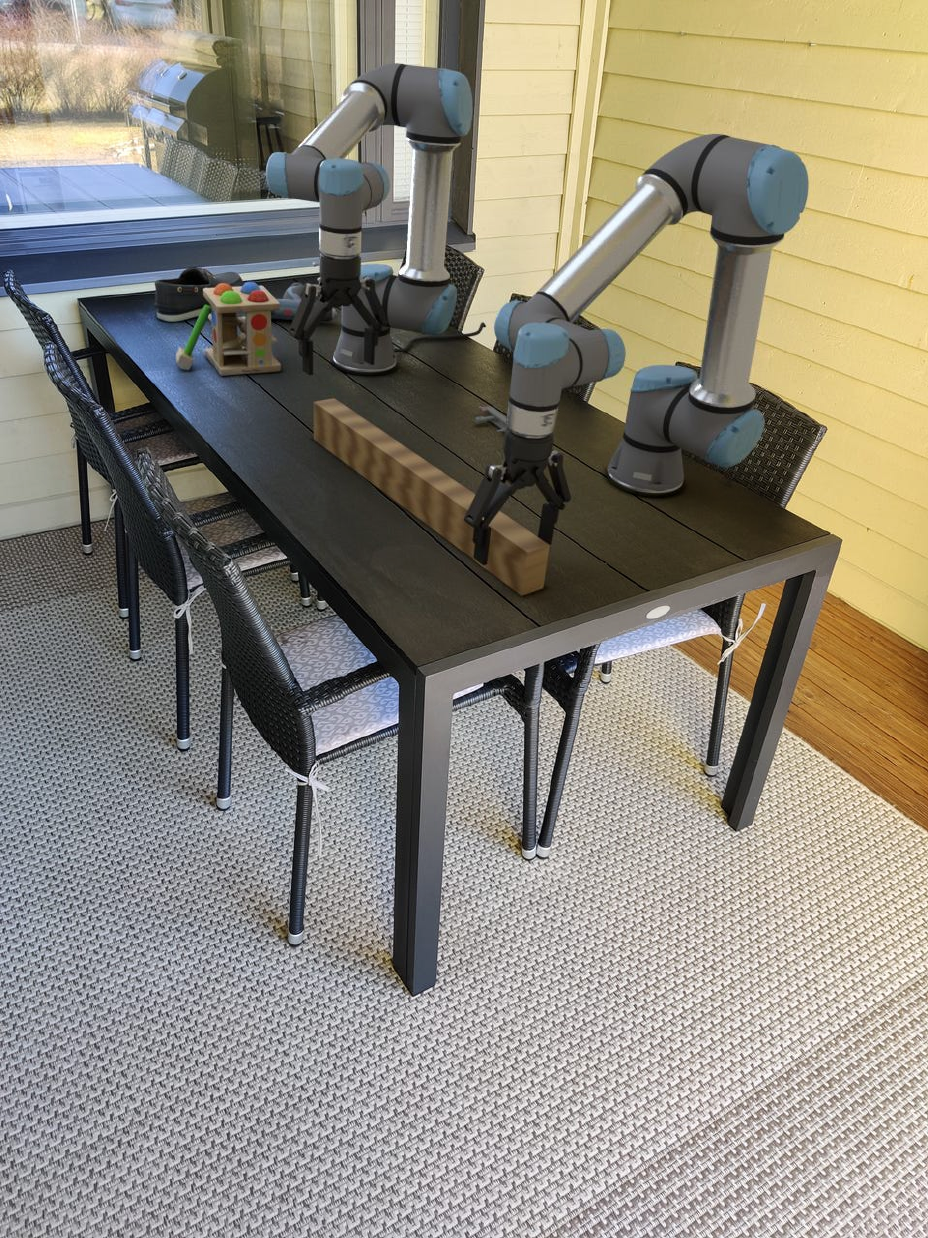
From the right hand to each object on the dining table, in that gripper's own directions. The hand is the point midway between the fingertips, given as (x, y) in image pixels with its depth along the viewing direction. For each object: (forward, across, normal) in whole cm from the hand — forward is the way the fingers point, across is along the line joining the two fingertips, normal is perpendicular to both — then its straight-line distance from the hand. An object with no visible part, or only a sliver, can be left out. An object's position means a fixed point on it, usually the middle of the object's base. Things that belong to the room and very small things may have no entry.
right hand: (512, 551), depth 160 cm
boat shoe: (+5, +14, +149) cm, 150 cm away
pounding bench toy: (+5, 0, +107) cm, 107 cm away
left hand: (-12, 0, +56) cm, 57 cm away
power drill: (+4, +37, +134) cm, 139 cm away
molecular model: (+4, +56, +154) cm, 164 cm away
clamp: (+4, +37, +48) cm, 61 cm away
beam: (+5, 0, +28) cm, 28 cm away
